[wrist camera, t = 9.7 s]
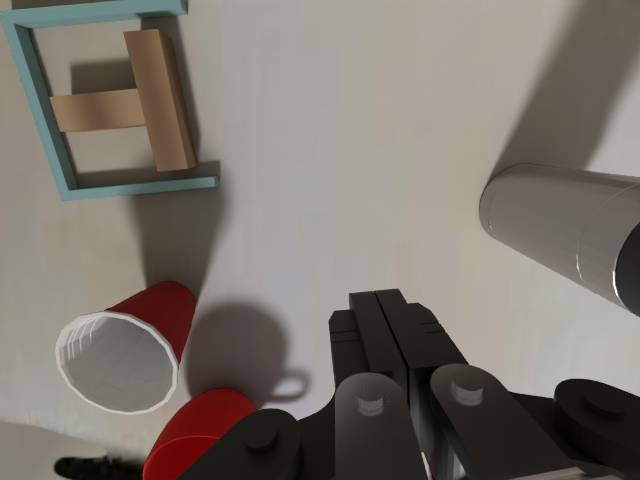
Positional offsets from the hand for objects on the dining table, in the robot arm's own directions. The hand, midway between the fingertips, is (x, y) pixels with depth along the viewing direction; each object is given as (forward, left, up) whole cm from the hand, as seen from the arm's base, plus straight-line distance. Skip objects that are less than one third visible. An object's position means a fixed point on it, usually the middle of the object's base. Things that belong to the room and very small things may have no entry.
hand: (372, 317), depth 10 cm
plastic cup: (+20, +12, -27) cm, 36 cm away
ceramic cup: (+15, +30, -27) cm, 43 cm away
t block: (+19, -10, -27) cm, 34 cm away
